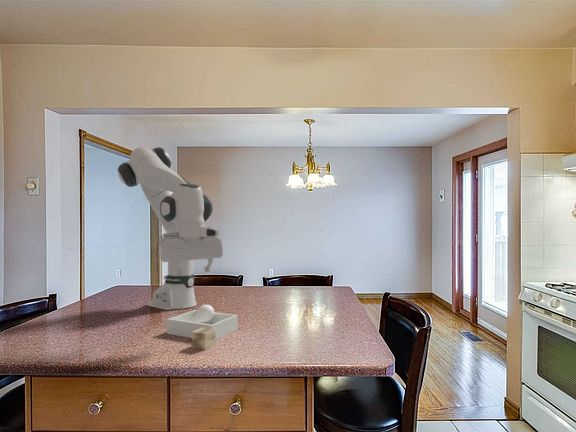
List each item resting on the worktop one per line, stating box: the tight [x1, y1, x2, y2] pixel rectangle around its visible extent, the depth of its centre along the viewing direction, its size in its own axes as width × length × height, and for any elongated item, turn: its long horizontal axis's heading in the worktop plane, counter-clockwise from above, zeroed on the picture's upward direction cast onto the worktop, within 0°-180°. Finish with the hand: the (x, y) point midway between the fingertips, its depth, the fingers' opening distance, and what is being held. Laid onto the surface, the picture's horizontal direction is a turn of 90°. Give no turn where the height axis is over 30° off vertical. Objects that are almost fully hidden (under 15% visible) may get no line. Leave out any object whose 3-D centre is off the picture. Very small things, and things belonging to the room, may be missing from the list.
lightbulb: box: [190, 304, 215, 323], centre depth 135 cm, size 6×6×11 cm
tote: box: [166, 309, 239, 341], centre depth 132 cm, size 19×15×5 cm
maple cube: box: [191, 328, 216, 351], centre depth 117 cm, size 5×5×5 cm
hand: (193, 273), depth 126 cm, fingers open, 8 cm apart
